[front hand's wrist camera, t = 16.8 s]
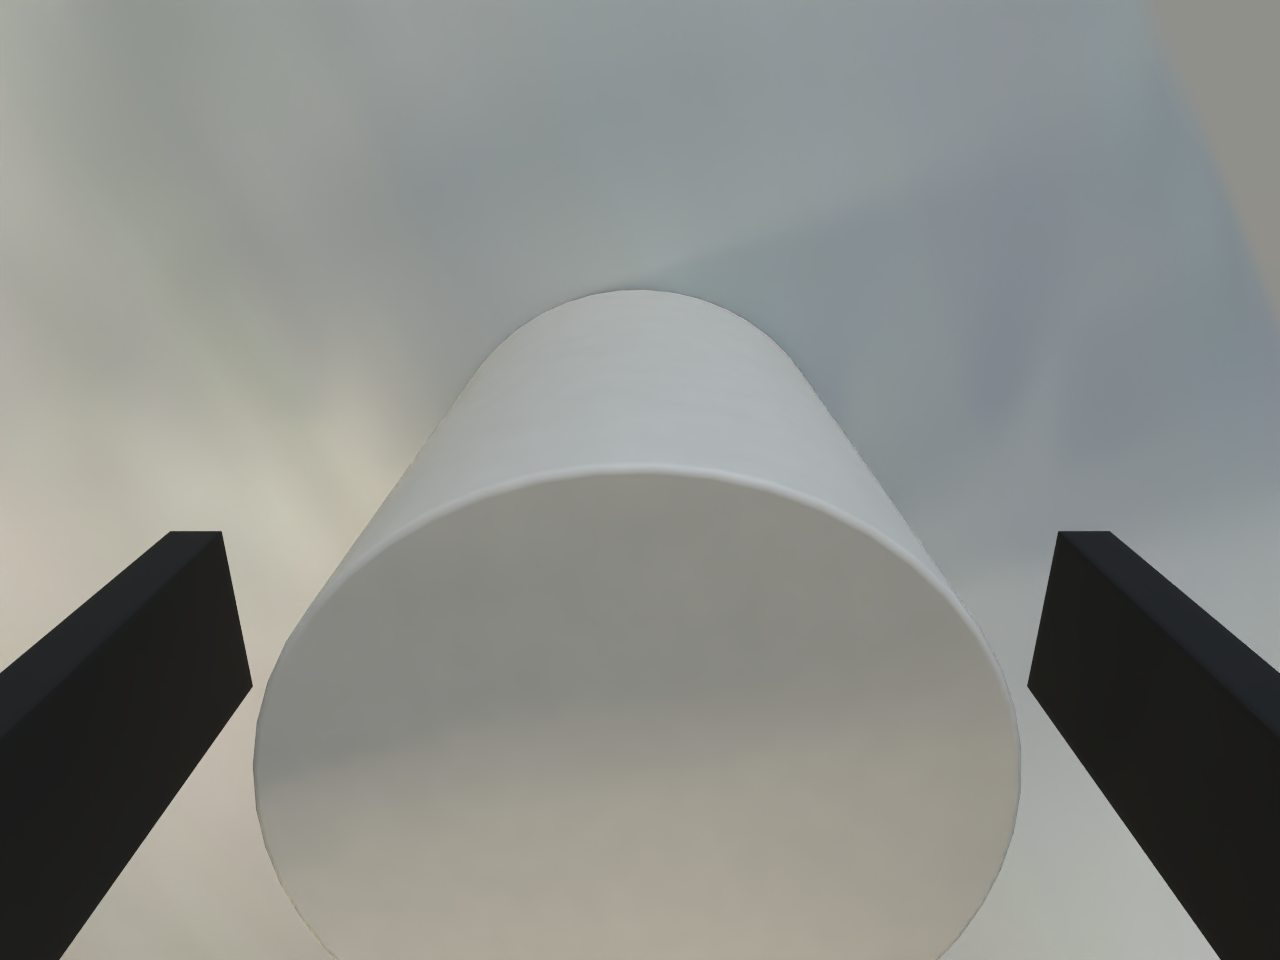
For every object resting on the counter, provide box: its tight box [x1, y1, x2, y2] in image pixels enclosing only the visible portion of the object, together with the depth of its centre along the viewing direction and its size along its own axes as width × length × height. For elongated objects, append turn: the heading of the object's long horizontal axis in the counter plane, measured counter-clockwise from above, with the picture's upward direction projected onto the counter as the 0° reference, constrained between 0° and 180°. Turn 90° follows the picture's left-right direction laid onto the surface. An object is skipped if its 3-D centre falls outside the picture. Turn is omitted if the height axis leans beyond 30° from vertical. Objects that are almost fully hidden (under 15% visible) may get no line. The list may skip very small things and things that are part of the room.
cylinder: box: [253, 290, 1021, 960], centre depth 13 cm, size 8×8×10 cm
